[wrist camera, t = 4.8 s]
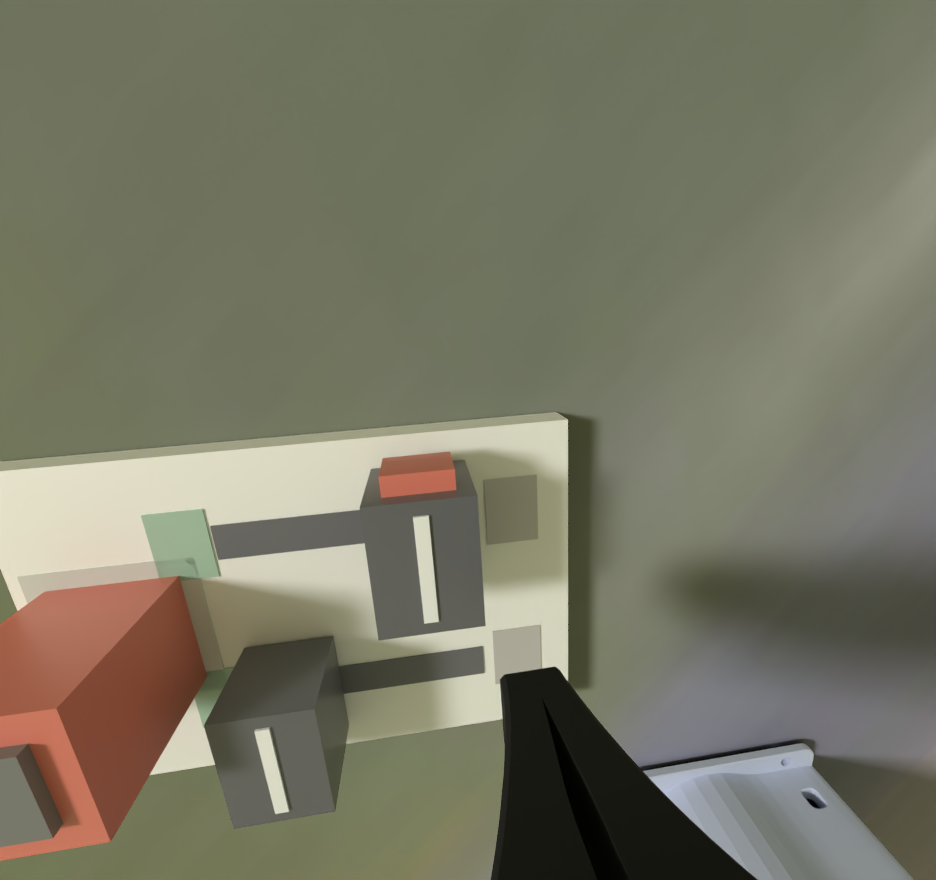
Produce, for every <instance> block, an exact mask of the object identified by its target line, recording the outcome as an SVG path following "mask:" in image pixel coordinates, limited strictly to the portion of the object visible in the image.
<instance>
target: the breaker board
mask: <svg viewBox="0 0 936 880" xmlns="http://www.w3.org/2000/svg"><path fill="white" fill-rule="evenodd" d="M440 452H450V453H451V457H452V460H453V461H456V460H465V462H466V465H467V468H468V470H469V473H470V476H471V479H472V482H473V484H474V487H475V490H476V493H477V495H478V511H479V527H480V544H481V560H482V576H483V592H484V608H485V624H486V626H482V627H474V628H467V629H460V630H452V631H445V632H438V633H431V634H423V635H416V636H409V637H401V638H394V639H387V640H378V633H377V626H376V619H375V612H374V605H373V598H372V591H371V584H370V577H369V570H368V564H367V557H366V550H365V543H364V536H363V529H362V522H361V515H360V505H361V501H362V498H363V494H364V491H365V487H366V484H367V481H368V477H369V474H370V470H371V469H375V468H380V467H381V463H382V459H383V458H388V457H398V456H409V455H419V454H429V453H440ZM0 569H1V571H2V574H3V576H4V579H5V581H6V584H7V586H8V588H9V591H10V593H11V596H12V598H13V601H14V603H15V606H16V608H17V611H19V610H20V609H21V608H23V607H24V606H25V605H27V604H28V603H29V602H31V601H32V600H34V599H35V598H36V597H38V596H39V595H40V594H42V593H43V592H45V591H54V590H62V589H71V588H79V587H88V586H96V585H105V584H113V583H122V582H130V581H139V580H148V579H156V578H165V577H173V576H179V578H180V581H181V585H182V589H183V592H184V596H185V599H186V603H187V606H188V610H189V614H190V617H191V621H192V624H193V628H194V631H195V635H196V639H197V642H198V646H199V649H200V653H201V656H202V660H203V664H204V667H205V671H206V674H207V677H206V679H205V681H204V682H203V684H202V686H201V688H200V689H199V691H198V693H197V694H196V696H195V698H194V700H193V701H192V703H191V705H190V706H189V708H188V710H187V712H186V713H185V715H184V717H183V718H182V720H181V722H180V724H179V725H178V727H177V729H176V730H175V732H174V734H173V736H172V737H171V739H170V741H169V742H168V744H167V746H166V748H165V749H164V751H163V753H162V754H161V756H160V758H159V760H158V761H157V763H156V765H155V766H154V768H153V770H152V772H151V773H150V775H153V774H159V773H165V772H172V771H178V770H184V769H191V768H197V767H203V766H210V765H215V762H214V759H213V756H212V752H211V749H210V745H209V742H208V739H207V735H206V732H205V728H204V724H205V722H206V720H207V718H208V717H209V715H210V713H211V711H212V709H213V707H214V705H215V703H216V701H217V699H218V697H219V695H220V693H221V692H222V690H223V688H224V686H225V684H226V682H227V680H228V678H229V676H230V674H231V672H232V670H233V668H234V667H235V665H236V663H237V661H238V659H239V657H240V655H241V653H242V651H243V649H244V648H246V647H253V646H260V645H268V644H275V643H283V642H290V641H298V640H305V639H313V638H320V637H327V636H333V637H334V642H335V648H336V654H337V659H338V665H339V671H340V676H341V682H342V688H343V693H344V699H345V704H346V710H347V716H348V721H349V728H348V735H347V741H346V744H348V743H355V742H361V741H367V740H374V739H380V738H386V737H393V736H399V735H405V734H411V733H418V732H424V731H430V730H437V729H443V728H449V727H456V726H462V725H468V724H475V723H481V722H487V721H493V720H500V719H503V717H502V703H501V689H500V679H501V677H502V676H503V675H504V674H511V673H517V672H523V671H530V670H536V669H542V668H548V667H557V668H558V669H559V670H560V671H561V673H562V674H563V675H564V677H565V678H566V680H567V681H568V419H566V418H565V417H563V416H562V415H560V414H559V413H557V412H552V413H541V414H530V415H518V416H507V417H496V418H485V419H474V420H462V421H451V422H440V423H429V424H418V425H406V426H395V427H384V428H373V429H362V430H350V431H339V432H328V433H317V434H306V435H294V436H283V437H272V438H261V439H250V440H238V441H227V442H216V443H205V444H194V445H182V446H171V447H160V448H149V449H138V450H126V451H115V452H104V453H93V454H82V455H70V456H59V457H48V458H37V459H26V460H14V461H3V462H0Z"/></svg>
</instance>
